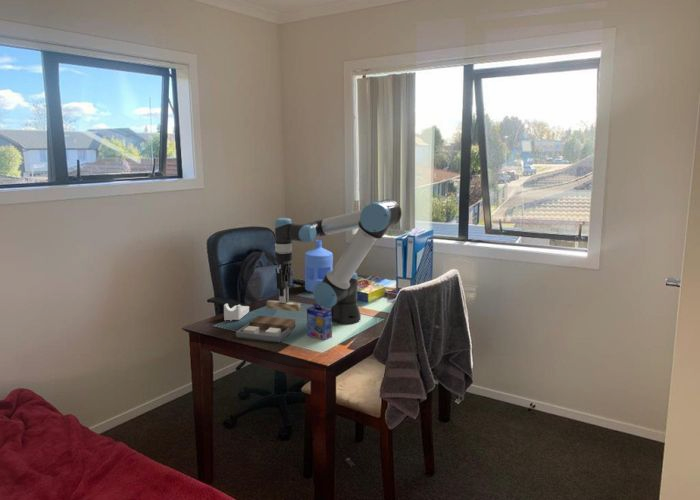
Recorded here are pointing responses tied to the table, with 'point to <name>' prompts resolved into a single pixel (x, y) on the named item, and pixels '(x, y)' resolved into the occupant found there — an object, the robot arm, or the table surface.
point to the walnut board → (273, 323)
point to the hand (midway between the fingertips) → (283, 301)
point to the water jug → (317, 265)
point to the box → (262, 335)
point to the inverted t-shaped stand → (285, 305)
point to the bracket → (235, 312)
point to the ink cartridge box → (319, 322)
